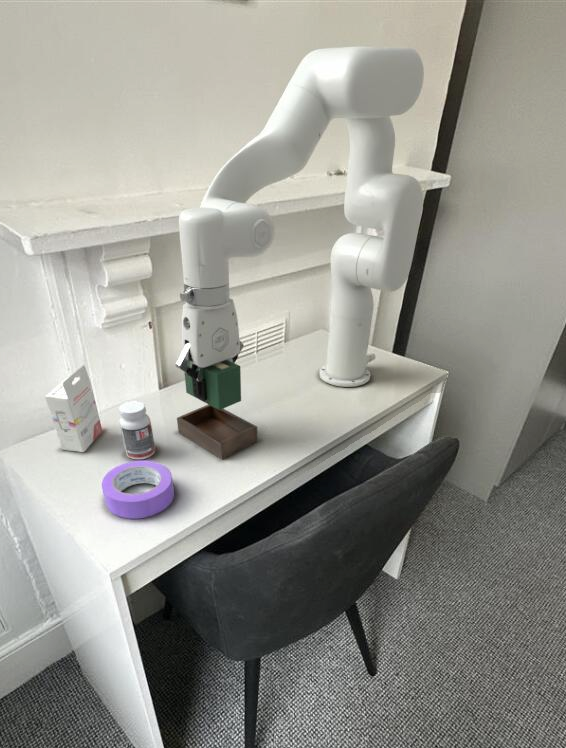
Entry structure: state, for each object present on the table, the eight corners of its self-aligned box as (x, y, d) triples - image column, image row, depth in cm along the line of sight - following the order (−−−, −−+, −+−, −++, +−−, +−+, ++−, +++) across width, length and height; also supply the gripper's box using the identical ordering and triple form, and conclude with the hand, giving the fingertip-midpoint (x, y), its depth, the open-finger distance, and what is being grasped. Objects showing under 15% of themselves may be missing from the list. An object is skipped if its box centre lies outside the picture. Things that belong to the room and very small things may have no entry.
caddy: (213, 417, 108) (212, 402, 105) (257, 441, 100) (257, 426, 98) (178, 432, 103) (176, 417, 100) (222, 459, 95) (220, 444, 93)
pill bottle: (161, 453, 97) (154, 407, 90) (135, 464, 94) (126, 417, 87) (146, 441, 100) (137, 396, 94) (120, 451, 97) (110, 406, 91)
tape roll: (188, 495, 86) (186, 478, 84) (133, 528, 80) (129, 510, 77) (146, 470, 92) (143, 452, 90) (92, 498, 86) (87, 480, 83)
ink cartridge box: (81, 428, 104) (63, 361, 94) (103, 431, 103) (87, 363, 94) (60, 450, 97) (38, 380, 88) (83, 453, 97) (64, 383, 87)
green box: (241, 401, 94) (240, 364, 90) (219, 410, 91) (217, 373, 87) (208, 384, 100) (205, 349, 95) (186, 392, 97) (182, 357, 92)
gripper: (179, 310, 77) (189, 414, 88) (259, 288, 86) (259, 386, 98) (151, 299, 81) (165, 400, 92) (230, 280, 90) (233, 374, 102)
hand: (213, 392), depth 95 cm, fingers closed on green box, 5 cm apart
